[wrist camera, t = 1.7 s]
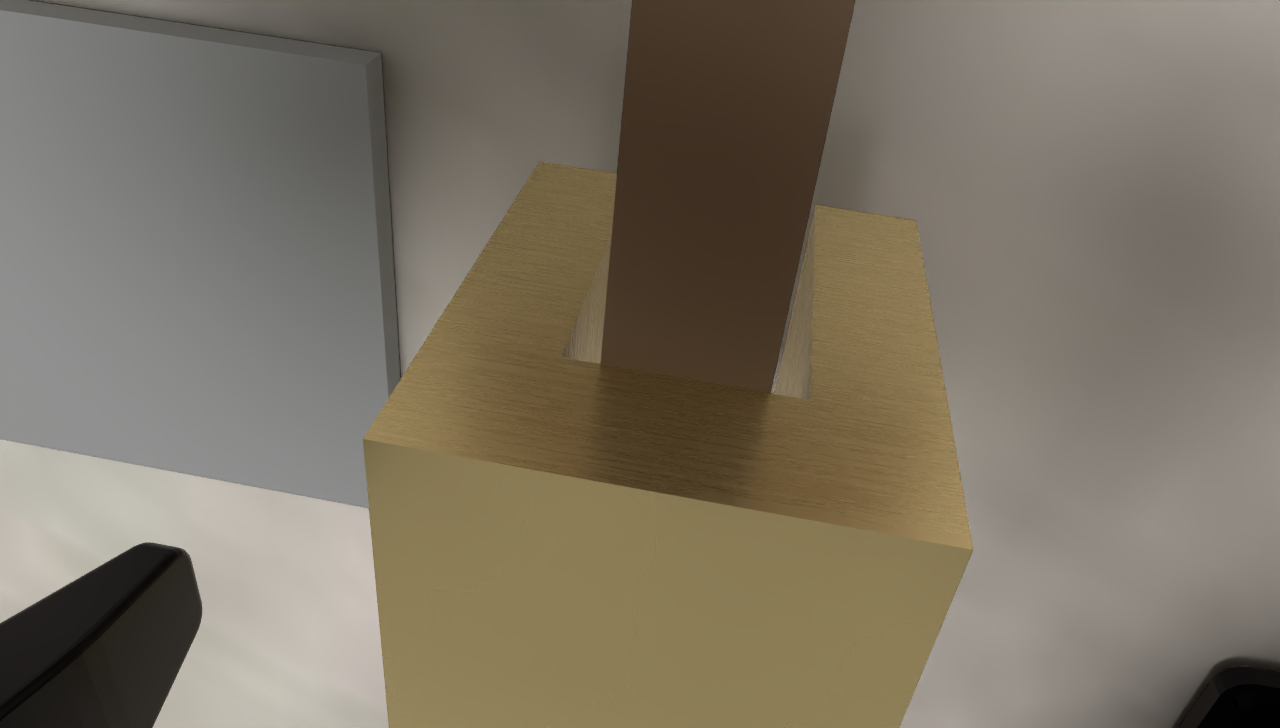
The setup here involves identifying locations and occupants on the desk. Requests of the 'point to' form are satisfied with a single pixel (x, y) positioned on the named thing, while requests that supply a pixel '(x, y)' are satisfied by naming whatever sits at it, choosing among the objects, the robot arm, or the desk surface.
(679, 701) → the slotted brass block
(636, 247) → the walnut stand
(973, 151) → the desk surface
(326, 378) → the slate mat
